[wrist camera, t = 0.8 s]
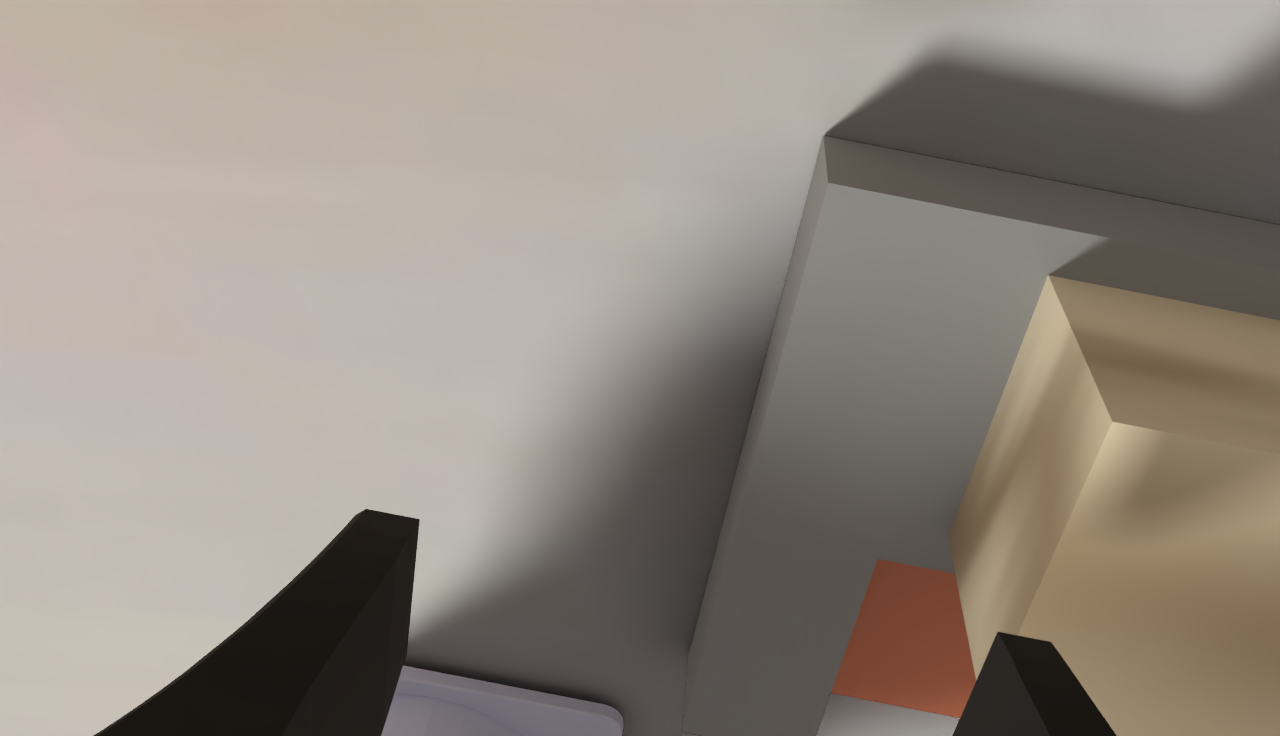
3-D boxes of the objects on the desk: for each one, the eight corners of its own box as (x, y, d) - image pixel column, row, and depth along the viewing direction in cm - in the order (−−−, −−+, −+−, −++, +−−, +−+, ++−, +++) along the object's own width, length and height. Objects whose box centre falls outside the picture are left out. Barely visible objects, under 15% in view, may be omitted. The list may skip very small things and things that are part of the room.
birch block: (1237, 592, 21) (1330, 780, 17) (948, 536, 21) (982, 713, 17) (1378, 340, 18) (1521, 501, 15) (1047, 274, 18) (1112, 421, 15)
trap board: (1562, 827, 25) (1668, 986, 22) (687, 658, 25) (675, 794, 22) (1962, 359, 19) (2180, 488, 16) (823, 135, 19) (832, 224, 16)
